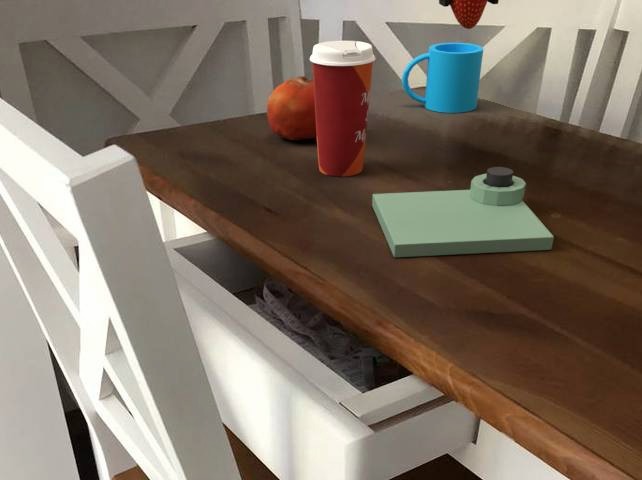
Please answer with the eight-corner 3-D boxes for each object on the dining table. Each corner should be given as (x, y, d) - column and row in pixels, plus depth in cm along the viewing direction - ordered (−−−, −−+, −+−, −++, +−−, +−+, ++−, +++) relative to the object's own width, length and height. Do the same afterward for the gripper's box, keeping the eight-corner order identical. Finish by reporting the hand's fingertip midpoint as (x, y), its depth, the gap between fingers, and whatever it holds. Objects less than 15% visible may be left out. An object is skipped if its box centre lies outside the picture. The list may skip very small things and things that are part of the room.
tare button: (506, 180, 82) (508, 166, 81) (514, 189, 80) (516, 174, 79) (482, 181, 82) (484, 167, 81) (489, 190, 80) (491, 175, 79)
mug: (472, 99, 119) (479, 42, 114) (480, 112, 113) (487, 53, 108) (398, 99, 120) (401, 43, 115) (402, 113, 113) (405, 54, 108)
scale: (511, 198, 85) (516, 172, 83) (554, 249, 74) (561, 220, 72) (371, 204, 84) (372, 178, 82) (393, 257, 73) (395, 228, 71)
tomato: (254, 138, 104) (251, 77, 99) (299, 124, 109) (298, 65, 104) (301, 152, 99) (300, 87, 94) (346, 137, 104) (347, 75, 99)
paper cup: (379, 175, 91) (386, 49, 83) (321, 182, 90) (320, 54, 81) (358, 156, 97) (362, 37, 88) (303, 162, 96) (301, 41, 87)
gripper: (552, -194, 82) (527, -4, 93) (400, -189, 81) (393, 3, 92) (577, -200, 76) (547, 4, 87) (413, -194, 75) (404, 11, 86)
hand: (468, 2), depth 89 cm, fingers closed on fruit, 5 cm apart
